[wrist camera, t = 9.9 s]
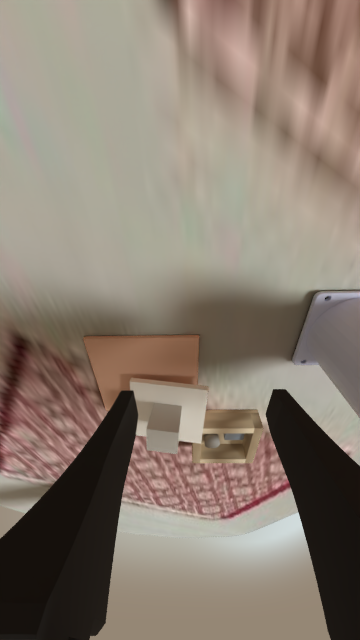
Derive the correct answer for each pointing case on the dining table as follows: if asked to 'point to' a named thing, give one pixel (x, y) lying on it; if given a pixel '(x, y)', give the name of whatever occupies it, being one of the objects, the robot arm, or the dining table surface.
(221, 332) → the dining table surface
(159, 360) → the mat
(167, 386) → the lid
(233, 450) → the box
